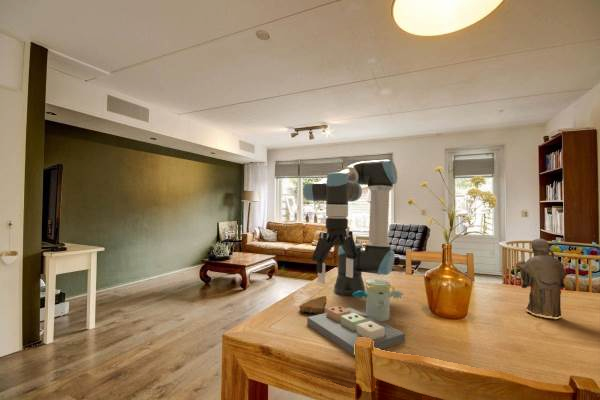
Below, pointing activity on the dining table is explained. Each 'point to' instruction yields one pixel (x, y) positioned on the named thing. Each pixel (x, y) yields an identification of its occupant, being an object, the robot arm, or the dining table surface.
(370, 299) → the character sculpture
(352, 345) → the button board
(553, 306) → the sculpture
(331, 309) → the tile three
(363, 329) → the tile one
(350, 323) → the tile two
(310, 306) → the artifact
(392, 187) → the robot arm
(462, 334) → the dining table surface
